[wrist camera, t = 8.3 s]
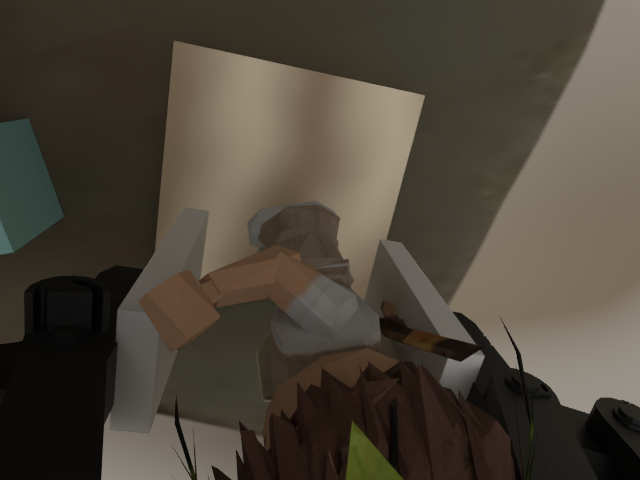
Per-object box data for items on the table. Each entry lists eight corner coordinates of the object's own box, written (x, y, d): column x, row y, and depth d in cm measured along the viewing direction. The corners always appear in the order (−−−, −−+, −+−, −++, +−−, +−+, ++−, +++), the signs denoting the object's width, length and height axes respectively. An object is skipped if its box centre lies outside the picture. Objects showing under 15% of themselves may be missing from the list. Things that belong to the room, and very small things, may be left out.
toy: (195, 172, 15) (-314, 1087, 2) (355, 151, 16) (1031, 718, 2) (228, 330, 18) (134, 1274, 4) (366, 308, 18) (728, 1077, 4)
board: (155, 273, 25) (152, 279, 24) (177, 41, 21) (173, 40, 21) (365, 302, 27) (367, 309, 26) (420, 94, 23) (425, 95, 22)
